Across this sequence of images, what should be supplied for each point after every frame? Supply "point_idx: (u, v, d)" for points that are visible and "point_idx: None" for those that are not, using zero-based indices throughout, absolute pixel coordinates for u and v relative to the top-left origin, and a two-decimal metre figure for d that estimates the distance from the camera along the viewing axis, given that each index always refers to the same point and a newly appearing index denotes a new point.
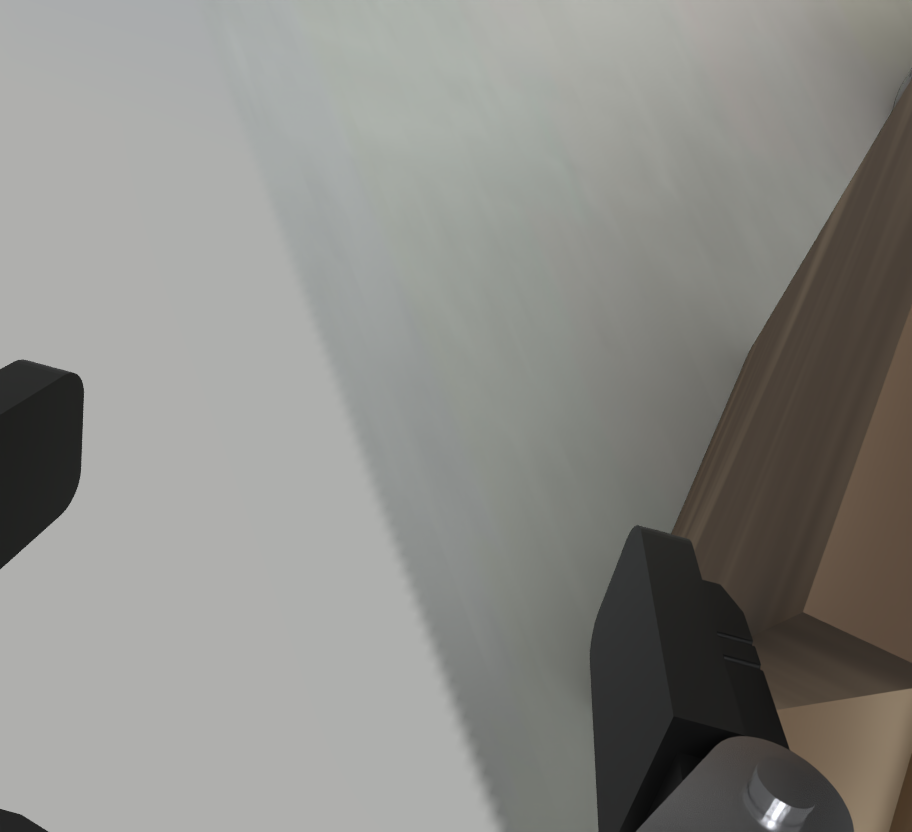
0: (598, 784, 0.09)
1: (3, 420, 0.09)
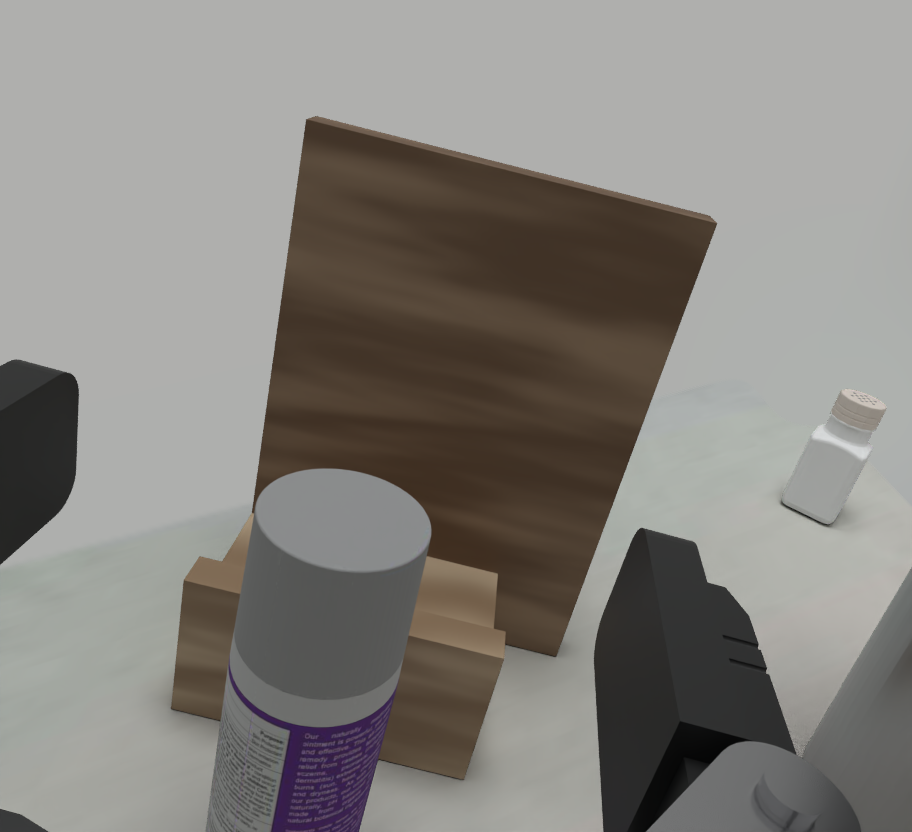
0: (603, 789, 0.09)
1: None
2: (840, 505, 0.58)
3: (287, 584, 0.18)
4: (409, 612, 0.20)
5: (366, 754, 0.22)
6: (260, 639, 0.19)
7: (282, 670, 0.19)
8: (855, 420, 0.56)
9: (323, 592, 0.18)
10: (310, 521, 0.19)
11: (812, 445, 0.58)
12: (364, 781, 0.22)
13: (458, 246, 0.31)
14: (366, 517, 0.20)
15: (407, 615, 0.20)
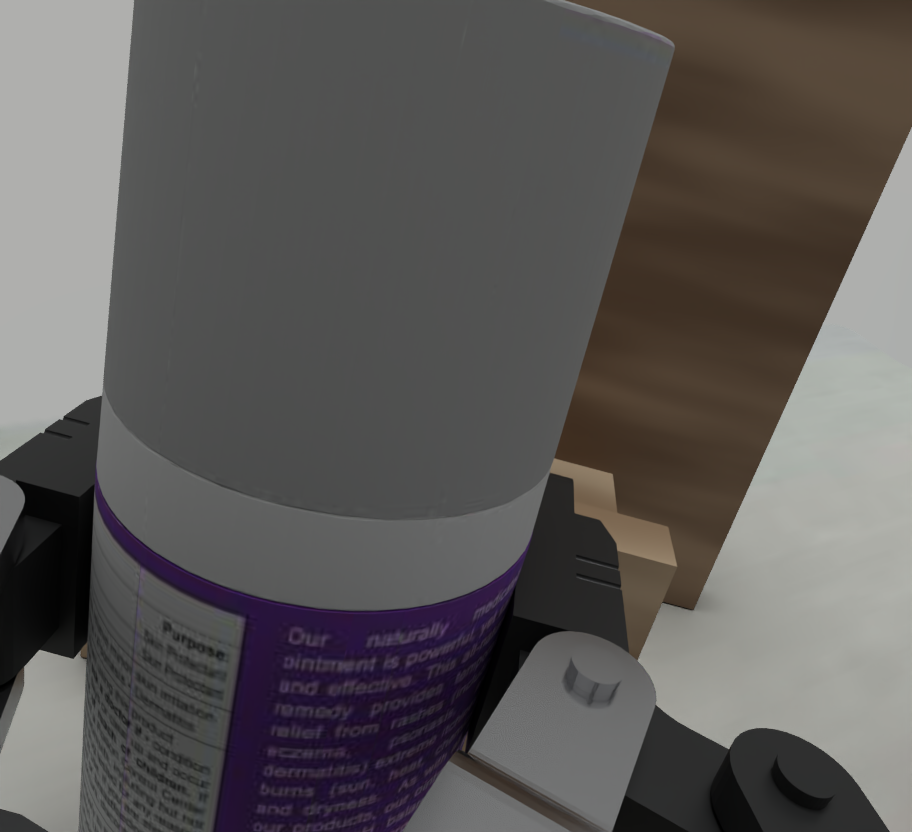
0: None
1: None
2: None
3: (231, 57, 0.05)
4: (601, 281, 0.07)
5: (452, 709, 0.08)
6: (155, 318, 0.06)
7: (221, 412, 0.06)
8: None
9: (356, 74, 0.05)
10: None
11: None
12: None
13: None
14: None
15: (597, 286, 0.07)
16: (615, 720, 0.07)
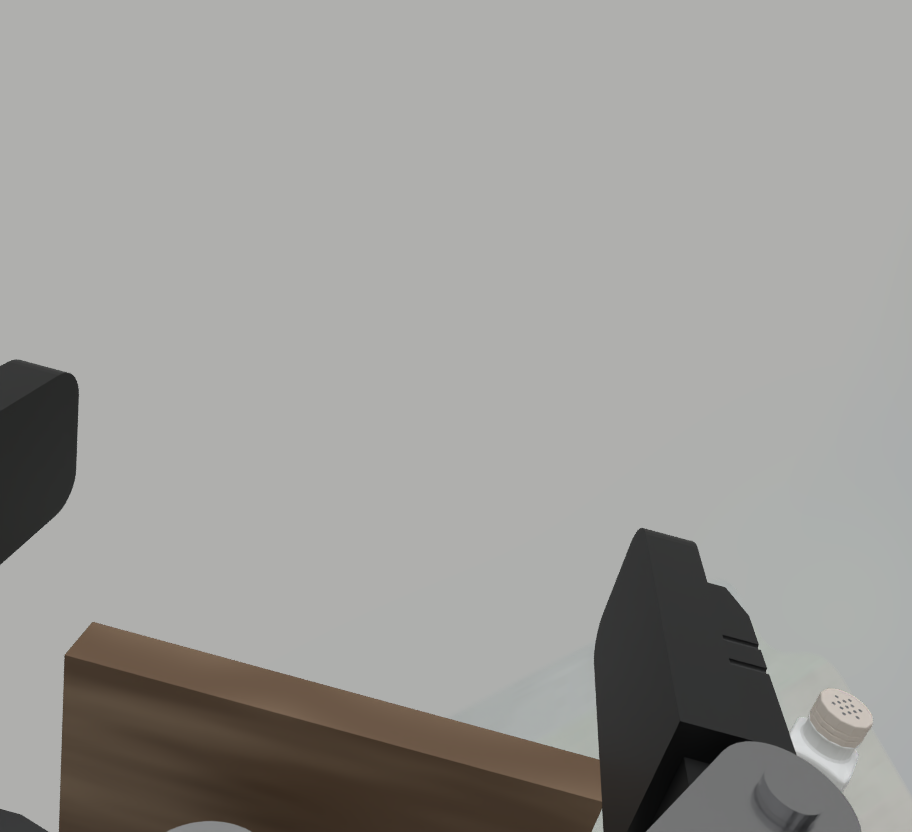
0: (603, 788, 0.09)
1: None
2: None
3: None
4: None
5: None
6: None
7: None
8: (836, 737, 0.48)
9: None
10: None
11: None
12: None
13: (273, 794, 0.24)
14: None
15: None
16: None
